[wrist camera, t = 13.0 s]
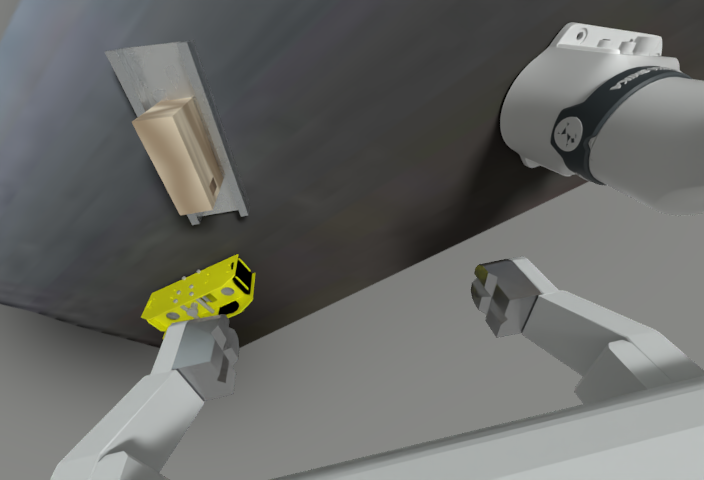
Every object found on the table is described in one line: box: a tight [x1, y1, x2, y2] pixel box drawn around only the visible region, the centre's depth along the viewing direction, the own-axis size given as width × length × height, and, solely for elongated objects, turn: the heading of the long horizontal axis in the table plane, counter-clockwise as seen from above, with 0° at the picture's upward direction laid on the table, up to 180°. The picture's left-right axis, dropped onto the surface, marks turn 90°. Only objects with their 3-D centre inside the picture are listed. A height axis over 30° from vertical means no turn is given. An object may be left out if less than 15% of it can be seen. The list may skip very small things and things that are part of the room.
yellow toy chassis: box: [141, 254, 255, 339], centre depth 47 cm, size 16×6×8 cm, turn 112°
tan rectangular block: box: [132, 97, 223, 215], centre depth 33 cm, size 4×10×8 cm, turn 5°
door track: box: [105, 40, 250, 225], centre depth 36 cm, size 8×20×3 cm, turn 5°
